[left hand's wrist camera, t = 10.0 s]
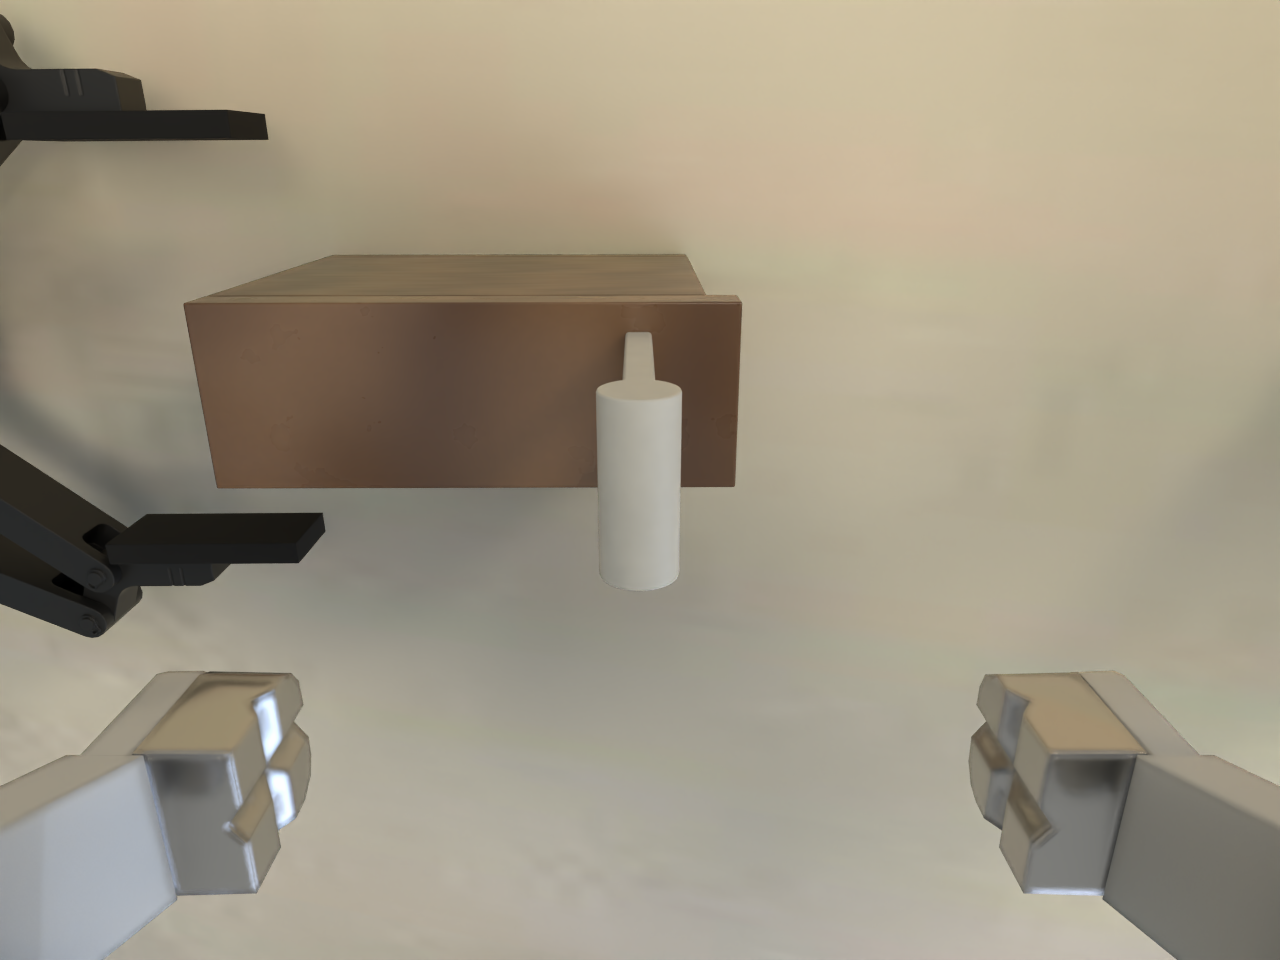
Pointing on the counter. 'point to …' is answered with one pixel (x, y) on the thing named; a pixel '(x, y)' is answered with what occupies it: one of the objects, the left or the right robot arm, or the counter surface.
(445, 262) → the chest
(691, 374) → the door
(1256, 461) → the counter surface
